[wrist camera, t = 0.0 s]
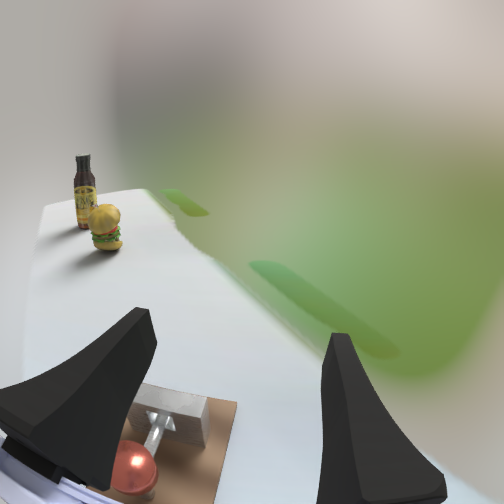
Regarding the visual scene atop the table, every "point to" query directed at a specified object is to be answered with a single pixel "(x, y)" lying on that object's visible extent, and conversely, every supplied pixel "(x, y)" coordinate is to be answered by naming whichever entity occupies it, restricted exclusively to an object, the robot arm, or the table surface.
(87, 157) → the sauce bottle
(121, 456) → the red knob lever
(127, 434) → the board
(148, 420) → the grey rectangular block
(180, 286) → the table surface
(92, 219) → the hamburger
